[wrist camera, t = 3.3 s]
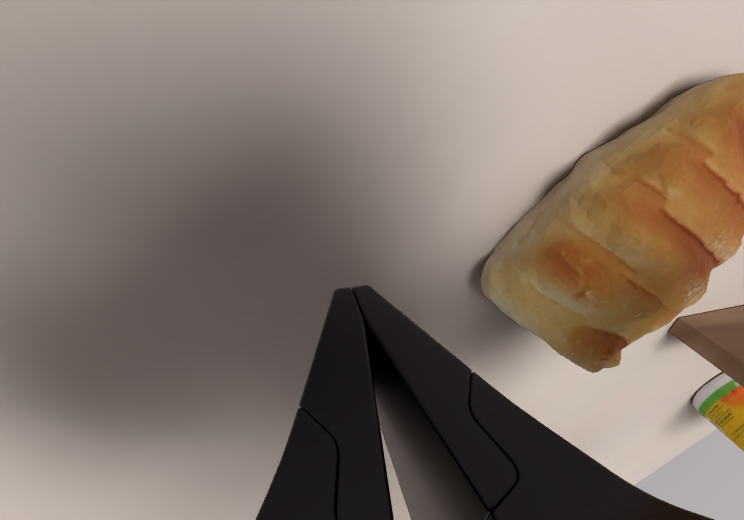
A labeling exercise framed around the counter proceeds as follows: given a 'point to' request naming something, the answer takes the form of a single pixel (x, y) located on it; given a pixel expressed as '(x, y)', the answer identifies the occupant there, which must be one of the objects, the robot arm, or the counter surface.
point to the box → (716, 338)
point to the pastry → (629, 230)
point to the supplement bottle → (723, 406)
